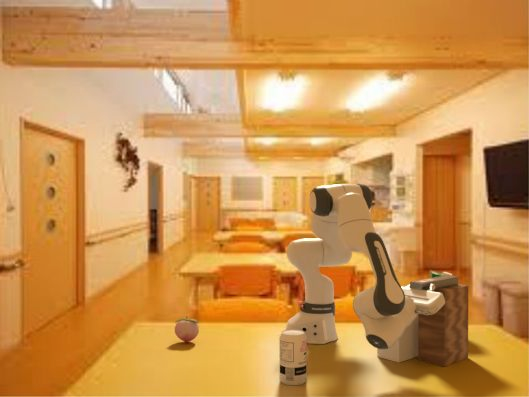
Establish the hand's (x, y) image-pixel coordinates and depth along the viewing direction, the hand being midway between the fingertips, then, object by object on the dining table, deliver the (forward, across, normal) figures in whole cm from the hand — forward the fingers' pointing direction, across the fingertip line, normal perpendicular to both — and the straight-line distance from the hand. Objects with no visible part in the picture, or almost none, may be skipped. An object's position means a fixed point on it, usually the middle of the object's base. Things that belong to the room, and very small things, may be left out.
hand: (424, 284), depth 190 cm
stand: (-4, 0, +29) cm, 29 cm away
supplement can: (-51, +18, +2) cm, 54 cm away
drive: (+4, 0, +5) cm, 6 cm away
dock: (-11, +12, +25) cm, 30 cm away
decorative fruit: (-51, +76, +2) cm, 91 cm away
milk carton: (+22, +19, +44) cm, 53 cm away
